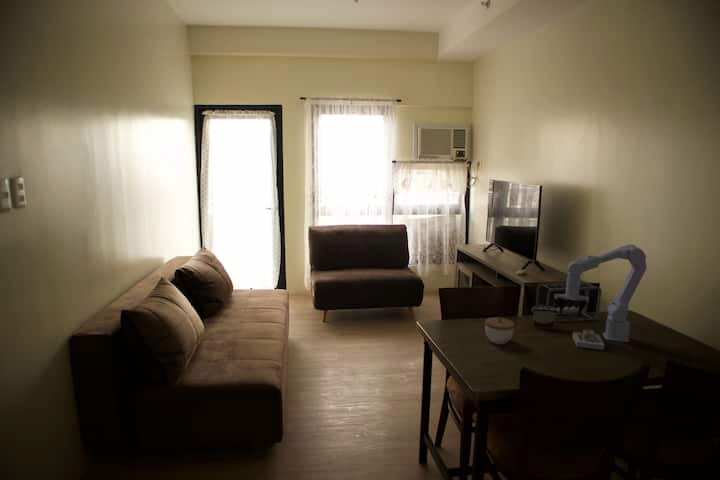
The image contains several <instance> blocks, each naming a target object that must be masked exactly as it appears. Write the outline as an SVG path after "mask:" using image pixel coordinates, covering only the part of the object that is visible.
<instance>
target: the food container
mask: <svg viewBox="0 0 720 480" xmlns="http://www.w3.org/2000/svg"><path fill="white" fill-rule="evenodd" d="M531 312H532V322H533V323H532V324H533V325H532V326H533V328H535V329H554V327H555V323H556V322H555V320H557V319H556V317H557V315H556V314H557V313H558V310H557V307H553V306H551V305H549V306H547V305H545V304H538V305H536V304H535V305H534V306H533V307H532V308H531Z"/></svg>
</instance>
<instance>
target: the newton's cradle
mask: <svg viewBox="0 0 720 480" xmlns="http://www.w3.org/2000/svg"><path fill="white" fill-rule="evenodd" d="M566 283H567V282H553V283H552V282H550V283H549V282H548V283H546V282H545V283H539V284H538V286H537V288H536V300H535V305H539V301H540V300H539V298H540V288H541V287H545V288H547V289H548V291H547V293H546V294H547V295H546V296H547V297H546V305H547V306H550V298H551V297H550V296H551V293H552V292H557V293H556V294H559V292H562V291H564V293H563V294H565V293H566ZM584 285H585V286H584ZM557 286H559V287H557ZM561 286H563V287H561ZM564 286H565V287H564ZM551 287H552V288H551ZM583 290H584V291H585V292H584V294H583V295H585V297H588V298H589V293H590V291H591V290H598V295H597V304H596V305H597V307H596V313H595V317H591V316H589V315H588V314H586V313H587V311H588V303H589V302H586V305H585V307H584V308H583V310H582V311H581V314H580V315H585V316H586V317H588V318H571V319H555V323H567V322H568V323H569V322H586V321H587V322H588V321H589V320H591V321H596V320H597V319H599V314H600V306H601V299H602V298H601V297H602V289H601V287H600V286H599V287H598V286H594V285H592V284H590V283H589V282H588V281H580V288H579V291H583ZM585 293H586V294H585ZM554 299H555V296H552V302H553V304H552V305H553V306H552V307H554V308H556V309H557V310H558V313H557V314H556V316H569V315H570V316H572V315H571V314H576V315H577V314H578V307H576V305H575V304H576V302H577V301H575V300H572V301H573V303H572V304H573V305H572V306H571V307H569V304H570V302H567V306H565V307H563V310H562V315H561V314H560V308H559V306H558V307H556V305H555V304H556V302H557V301H555V302H554ZM574 301H575V302H574Z"/></svg>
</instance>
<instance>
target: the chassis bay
mask: <svg viewBox="0 0 720 480" xmlns="http://www.w3.org/2000/svg"><path fill="white" fill-rule="evenodd" d="M582 334H583V332H576V331H575V332H573V331H572V337H571V338H572V339H573V340H572V341H573V342H574V344H575V347H576V348H581V349H589V350H597V351H598V350H599V351H604V350H605V343H604V342H603V340H602V338H601V336H600V334H595V336H594V342H585V341H582Z"/></svg>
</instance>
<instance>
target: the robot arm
mask: <svg viewBox="0 0 720 480" xmlns="http://www.w3.org/2000/svg"><path fill="white" fill-rule="evenodd" d="M646 258H647V255H646V254H645V252H644V251H643V249H641V248H639V247H637V246H636V245H634V244H627V245H622V246H620V247H618V248H615V249H613V250H610V251H607V252H605V253H603V254H600V255H597V256H596V255H593V254H592V255H591V254H588V255H587V256H586V257H583V258H581V259H579V258H578V259H576V260H572V261H569V263H568V264H567V265H566V270H567V276H566V282H565V283H566V285H565V288H566V291H565V293H558V294H557V293H554V299H555V300H556V302H557V303H558V307H559V308H560V314H561V315H560V316H563V315H562V310H563V309H564V303H565V302H564V300H566V301H573V300H574V301H575V302H577V301H578V307H577V308H578V314H576V315H577V317H580V316H581V315H582V314H581V311H582V310H583V308H584V309H585V305H586V302H588V303H589V302H590V301H589V300H590V298H589V296H588V297H586V296H585V295H583V296H582V295H580V290H579V288H580V287H581V285H580V282H581V275H582V274H583V273H584V272H588V271H590V270H593V269H596V268H599V266H600V264H602V263H607V262H609V261H613V260H615V259H620V260H621V259H622V260H627V261H629V264H630V266H631V270H629V273H628V275H627V277H626V279H625V281H624V283H623V285H622V287H621V289H620V290H619V291H618V292H619V293H618V294H617V297H616V298H613V300H612V302H610V303H609V304H608V305H607V306H606V312H607V314H608V315H607V318H606V325H605V332H602V335H603V337H604V339H605V340H606V341H615V342H623V343H629V337H630V331H631V324H630V321H629V320H626V319H627V318H628V312H629V308H630V307H629V303H630V301H631V300H632V297H633V295H634V294H635V291H636V290H637V288H638V286H639V284H640V283H641V280H642V278H643V276H644V274H645V273H646V271H647V260H646Z"/></svg>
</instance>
